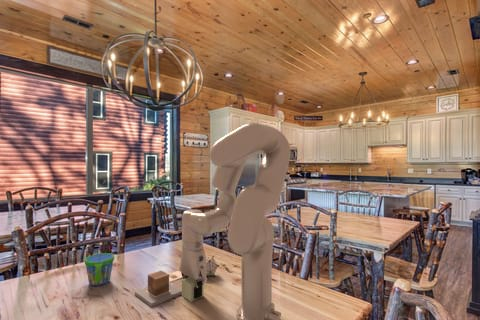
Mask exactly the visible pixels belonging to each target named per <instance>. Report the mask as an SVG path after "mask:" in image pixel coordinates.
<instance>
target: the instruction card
mask: <svg viewBox="0 0 480 320" xmlns="http://www.w3.org/2000/svg"><path fill="white" fill-rule="evenodd" d="M168 274H169V284H170V283H172V282H175V281H177V280H180V279H183V277H182V275H181V272H180V270H176V271H173V272H170V273H168Z"/></svg>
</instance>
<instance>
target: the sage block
mask: <svg viewBox="0 0 480 320" xmlns="http://www.w3.org/2000/svg"><path fill="white" fill-rule="evenodd" d="M197 282H199V279H198V280H197ZM194 287H195V283H194V279H193V278H191V277H188V278H185V279H183V278H181V291H182V294H181V297H183V298H184V299H186V300H188V301H189V302H194V301H196V300H198V299H201V298H202V297H204V285H203V286H202V296H201V297H199V298H197V299H194Z"/></svg>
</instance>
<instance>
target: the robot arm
mask: <svg viewBox="0 0 480 320" xmlns="http://www.w3.org/2000/svg"><path fill="white" fill-rule="evenodd" d="M209 153H210V154H209V157H210V161H211V163H212V164H213V165H214V166H215V167H216V169H215V172H214V173H213V177H212V180H211V185H212V186H213V188H214V190H217V191H218V193H219V197H218V201H217V204H216V207H215V208H214V209H211V210H210V211H205V212H203V210H200V209H186V210H184V211H183V212H182V216H181V223H182V224H181V230H182V231H181V232H182V233H181V252H180V253H181V254H180V267H179V271H180V272H181V275H182V277H183V278H182V279H185V278H188V277H191V278H193V279H194V283H195V287H194V299H196V300H198V299H200V298H202V297H203V296H202V286H203V287H204V284H205V283H206V282H207V281H208V278H207V276H206V274H207V268H206V258H207V257H206V250H205V249H204V236H210V235H211V234H214V233H216V232H217V233H218V232H220V231H221V230H224V229H225V228H226V227H227V226H228V229H227V242H228V245H229V248H230V249H231V251H232V252H234V253H235V254H237V255H240V256H241V297H240V299H241V301H240V302H241V304H240V306H238V308H237V309H236V319H237V320H281V316H282V312H279V310H278V311H277V310H276V309H275V303H274V302H272V301H273V299H272V296H273V295H272V293H273V291H272V290H273V289H272V287H273V286H272V284H273V283H272V282H273V281H272V276H273V272H272V271H273V270H272V268H273V266H272V265H273V264H272V263H273V246H274V240H275V239H274V238H275V228H274V225H273V223H272V221H271V219H269V218H268V217H267V215H269V214H272V213H273V212H275V211H276V209H277V208H278V205H279V203H280V199H281V195H282V191H283V187H284V184H285V179H286V175H287V171H288V168H289V163H290V160H291V146H290V142H289V141H288V138H287V137H286V136H285V134H283V133H282V132H281V131H280V130H278V129H277V128H275V127H273V126H270V125H267V124H263V123H258V122H249V123H246V124H244V125H242V126H240V127H238V128H237V129H235V130H233V131H231V132H229V133H228V134H226V135H225V136H223V137H221V138H220V139H218V140H217V141H216V142H215V143H213V145H212V147H211V149H210V152H209ZM254 153H259V154H260V153H261V154H263V158H262V161H261V162H260V164H259V167H258V170H257V174H256V177H255V181H254V183H253V184H251V185H247V186H245V187H244V188H242V189H241V190H240V192H239V193H238V195H237V194H236V189H237V187H238V184H239V181H240V178H241V177H242V173H243V171H244V168H245V165H246V163H247V160H248V158H249V155H251V154H254ZM198 279H199V282H197V280H198ZM201 296H202V297H201ZM199 297H200V298H199ZM197 298H198V299H197Z"/></svg>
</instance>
